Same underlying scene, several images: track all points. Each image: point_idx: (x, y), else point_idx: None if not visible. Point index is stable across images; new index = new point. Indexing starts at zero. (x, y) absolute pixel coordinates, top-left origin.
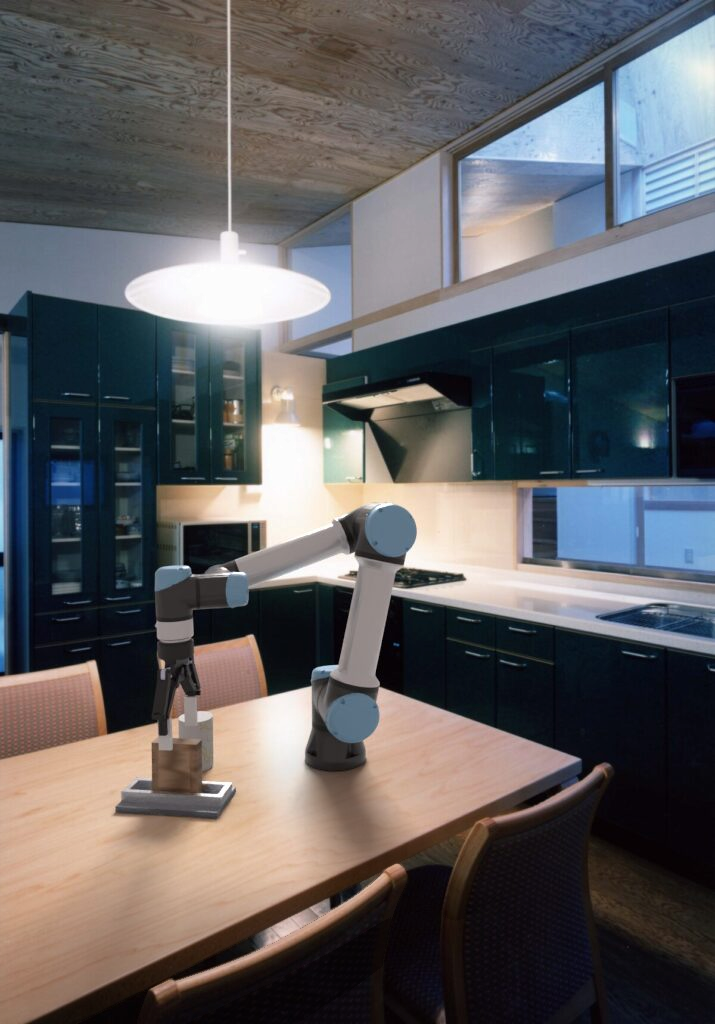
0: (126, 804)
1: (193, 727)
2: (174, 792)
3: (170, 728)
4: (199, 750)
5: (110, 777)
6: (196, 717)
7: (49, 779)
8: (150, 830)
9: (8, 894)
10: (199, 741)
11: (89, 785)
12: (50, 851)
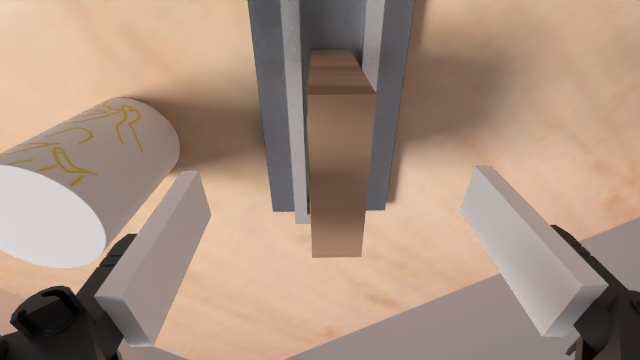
0: (375, 196)
1: (104, 197)
2: None
3: (559, 235)
4: (336, 83)
5: (252, 263)
6: (177, 195)
7: (281, 324)
8: (460, 111)
9: (617, 225)
10: (335, 95)
11: (288, 277)
12: None
